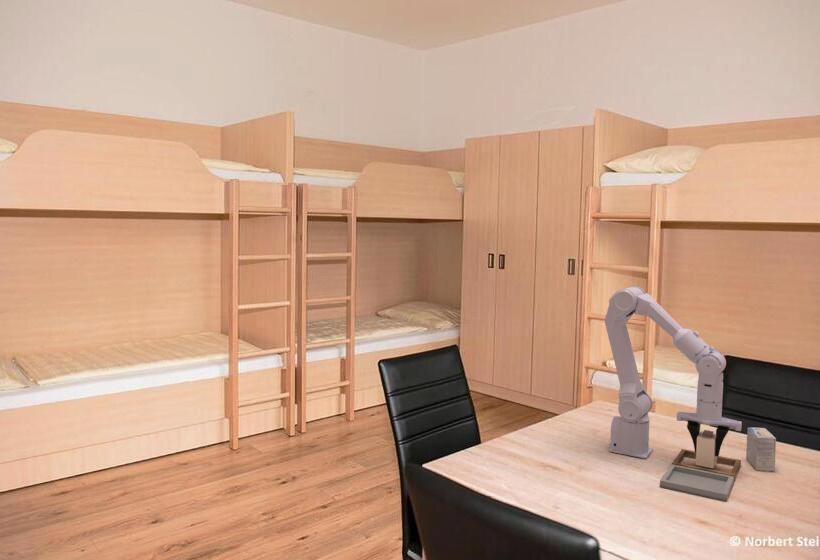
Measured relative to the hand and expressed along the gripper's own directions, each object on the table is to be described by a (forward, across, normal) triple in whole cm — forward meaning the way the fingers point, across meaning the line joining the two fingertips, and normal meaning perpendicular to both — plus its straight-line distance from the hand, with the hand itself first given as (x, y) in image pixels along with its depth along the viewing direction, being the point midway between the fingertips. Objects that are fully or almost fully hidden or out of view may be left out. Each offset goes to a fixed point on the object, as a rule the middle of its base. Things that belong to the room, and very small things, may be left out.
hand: (706, 453), depth 160 cm
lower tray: (+4, 0, -13) cm, 14 cm away
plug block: (+2, 0, 0) cm, 2 cm away
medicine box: (+4, +11, +9) cm, 15 cm away
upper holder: (+4, 0, 0) cm, 4 cm away
